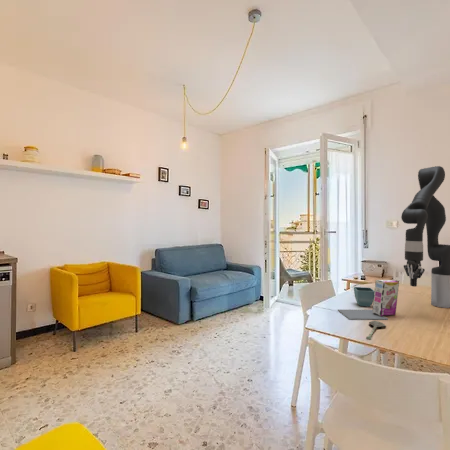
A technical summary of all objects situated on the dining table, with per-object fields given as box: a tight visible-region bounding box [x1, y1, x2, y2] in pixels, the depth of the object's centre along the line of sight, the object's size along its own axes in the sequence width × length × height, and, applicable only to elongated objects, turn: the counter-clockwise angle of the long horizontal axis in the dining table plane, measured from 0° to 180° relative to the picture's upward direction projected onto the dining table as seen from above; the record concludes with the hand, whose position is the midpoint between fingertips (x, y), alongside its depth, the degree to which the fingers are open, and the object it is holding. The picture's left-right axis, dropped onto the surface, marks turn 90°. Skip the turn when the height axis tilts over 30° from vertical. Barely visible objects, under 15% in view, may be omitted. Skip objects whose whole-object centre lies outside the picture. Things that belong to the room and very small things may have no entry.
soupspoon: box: [366, 320, 387, 341], centre depth 121 cm, size 22×3×7 cm
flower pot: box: [353, 286, 375, 307], centre depth 159 cm, size 9×9×9 cm
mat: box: [337, 309, 389, 321], centre depth 142 cm, size 18×14×1 cm
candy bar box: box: [372, 279, 400, 317], centre depth 142 cm, size 11×5×16 cm, turn 116°
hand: (413, 286), depth 142 cm, fingers closed
